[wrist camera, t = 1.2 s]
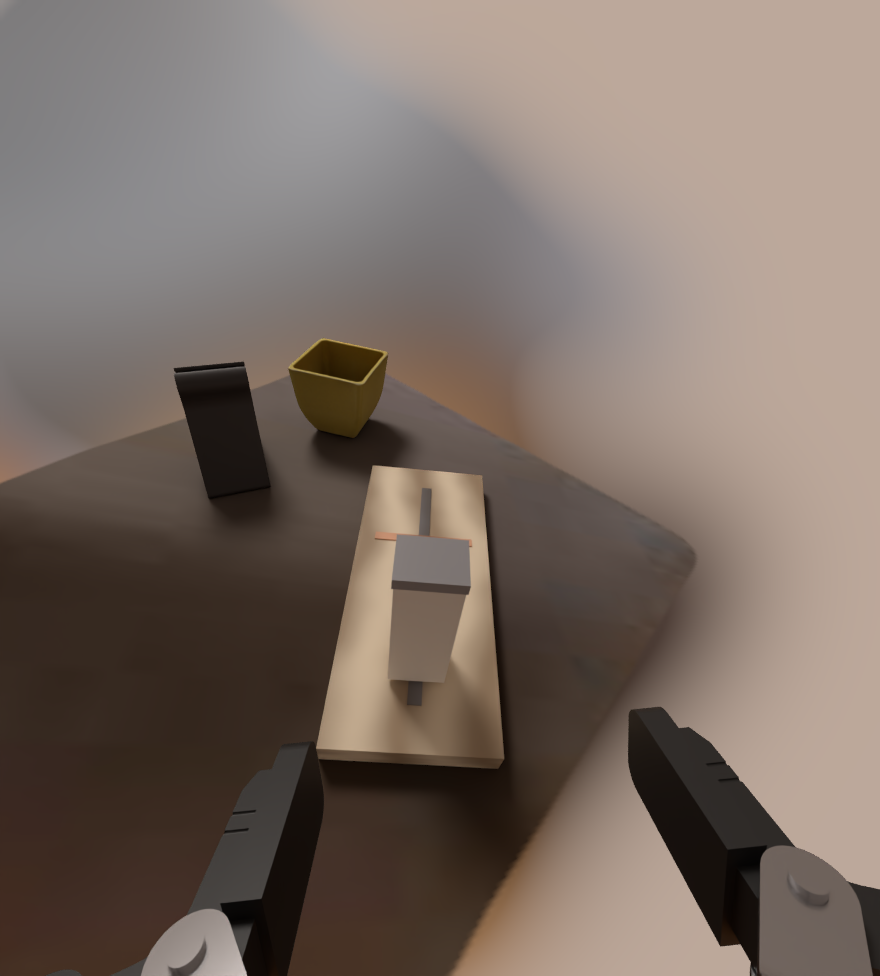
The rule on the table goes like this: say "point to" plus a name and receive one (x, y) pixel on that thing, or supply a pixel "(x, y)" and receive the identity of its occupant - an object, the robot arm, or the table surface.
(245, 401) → the phone stand
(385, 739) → the wooden slider board
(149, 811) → the table surface
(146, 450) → the table surface
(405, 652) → the fader knob
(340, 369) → the flower pot
